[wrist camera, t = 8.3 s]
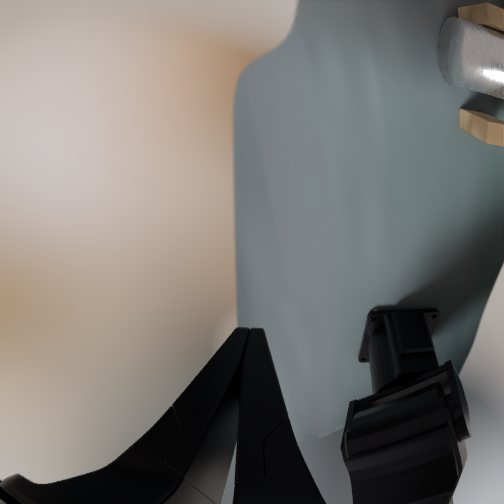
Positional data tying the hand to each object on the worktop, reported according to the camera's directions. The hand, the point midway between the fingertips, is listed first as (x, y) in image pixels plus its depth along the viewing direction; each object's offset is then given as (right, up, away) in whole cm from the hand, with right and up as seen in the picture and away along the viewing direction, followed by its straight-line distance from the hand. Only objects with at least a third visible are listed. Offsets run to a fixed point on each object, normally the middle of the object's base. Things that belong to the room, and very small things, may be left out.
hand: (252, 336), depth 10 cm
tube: (+16, +13, +3) cm, 21 cm away
